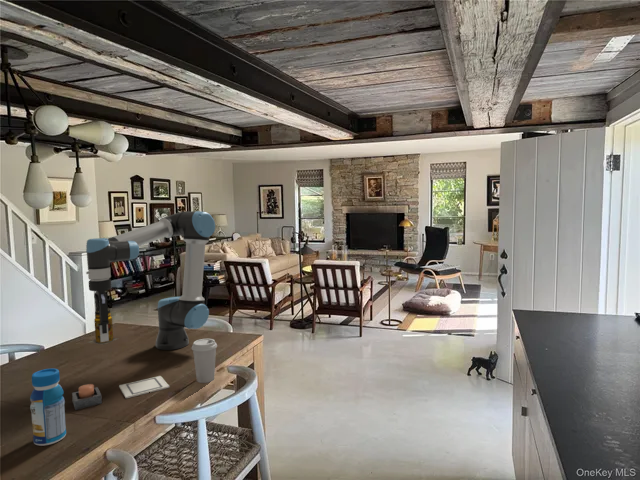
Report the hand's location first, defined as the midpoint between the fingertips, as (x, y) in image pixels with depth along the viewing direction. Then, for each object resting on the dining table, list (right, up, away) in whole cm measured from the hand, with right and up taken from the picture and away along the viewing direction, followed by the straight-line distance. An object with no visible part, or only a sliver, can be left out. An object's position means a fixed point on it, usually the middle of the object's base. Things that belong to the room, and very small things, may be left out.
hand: (103, 338), depth 166 cm
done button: (+2, -16, -16) cm, 23 cm away
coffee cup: (+39, -16, +2) cm, 42 cm away
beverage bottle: (+4, -20, -39) cm, 44 cm away
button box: (+3, -18, -16) cm, 24 cm away
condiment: (0, -1, +1) cm, 1 cm away
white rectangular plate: (+17, -17, -4) cm, 25 cm away
